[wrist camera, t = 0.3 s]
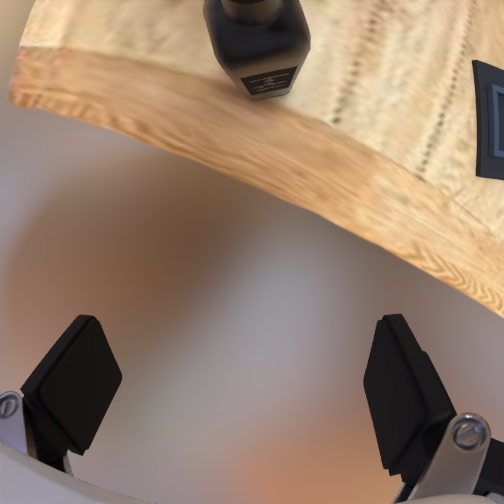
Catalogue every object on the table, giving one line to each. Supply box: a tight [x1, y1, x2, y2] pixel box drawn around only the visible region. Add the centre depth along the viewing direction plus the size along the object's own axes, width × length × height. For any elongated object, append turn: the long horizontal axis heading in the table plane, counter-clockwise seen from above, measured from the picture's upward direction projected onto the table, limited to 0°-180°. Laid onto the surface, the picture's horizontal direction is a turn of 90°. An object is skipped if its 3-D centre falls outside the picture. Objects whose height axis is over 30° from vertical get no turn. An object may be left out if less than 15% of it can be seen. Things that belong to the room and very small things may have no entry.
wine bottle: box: [203, 0, 311, 101], centre depth 18 cm, size 6×6×30 cm
